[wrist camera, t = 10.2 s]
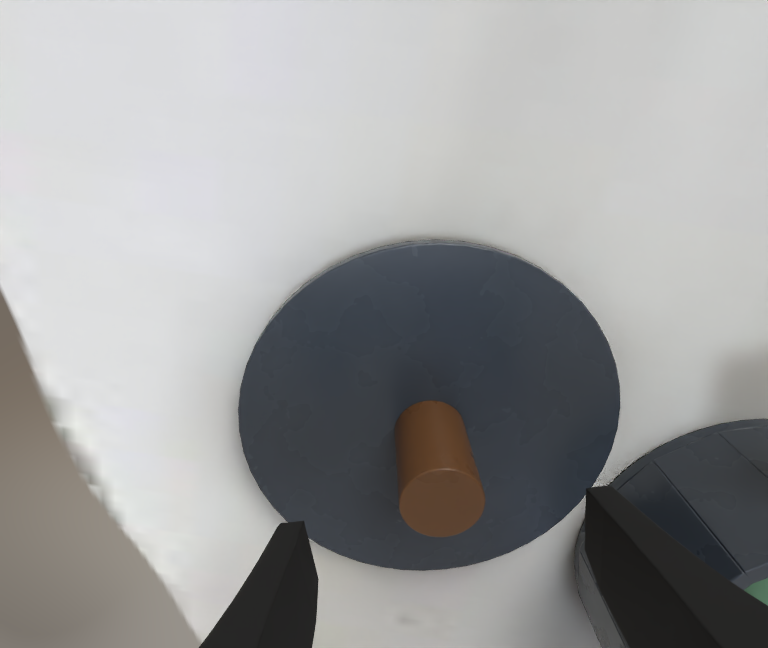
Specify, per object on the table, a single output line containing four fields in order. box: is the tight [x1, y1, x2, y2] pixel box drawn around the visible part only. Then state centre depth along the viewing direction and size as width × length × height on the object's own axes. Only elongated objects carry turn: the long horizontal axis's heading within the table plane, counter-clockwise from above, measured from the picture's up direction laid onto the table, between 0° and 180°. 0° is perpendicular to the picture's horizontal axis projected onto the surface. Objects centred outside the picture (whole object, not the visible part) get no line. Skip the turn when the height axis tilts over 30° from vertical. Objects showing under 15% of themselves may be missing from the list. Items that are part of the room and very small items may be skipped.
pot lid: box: [238, 239, 620, 571], centre depth 16 cm, size 13×13×5 cm
